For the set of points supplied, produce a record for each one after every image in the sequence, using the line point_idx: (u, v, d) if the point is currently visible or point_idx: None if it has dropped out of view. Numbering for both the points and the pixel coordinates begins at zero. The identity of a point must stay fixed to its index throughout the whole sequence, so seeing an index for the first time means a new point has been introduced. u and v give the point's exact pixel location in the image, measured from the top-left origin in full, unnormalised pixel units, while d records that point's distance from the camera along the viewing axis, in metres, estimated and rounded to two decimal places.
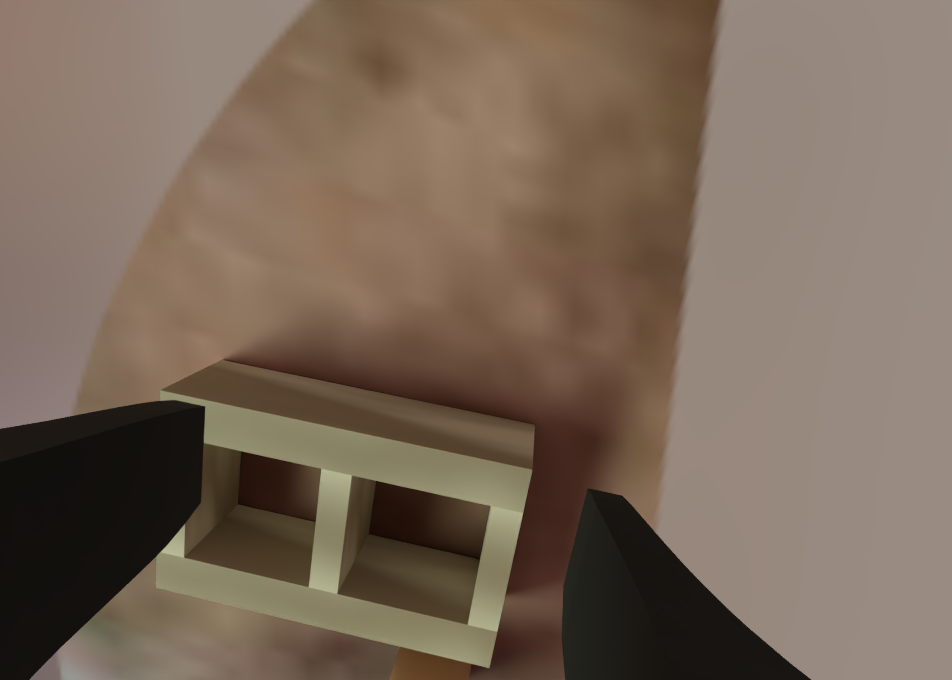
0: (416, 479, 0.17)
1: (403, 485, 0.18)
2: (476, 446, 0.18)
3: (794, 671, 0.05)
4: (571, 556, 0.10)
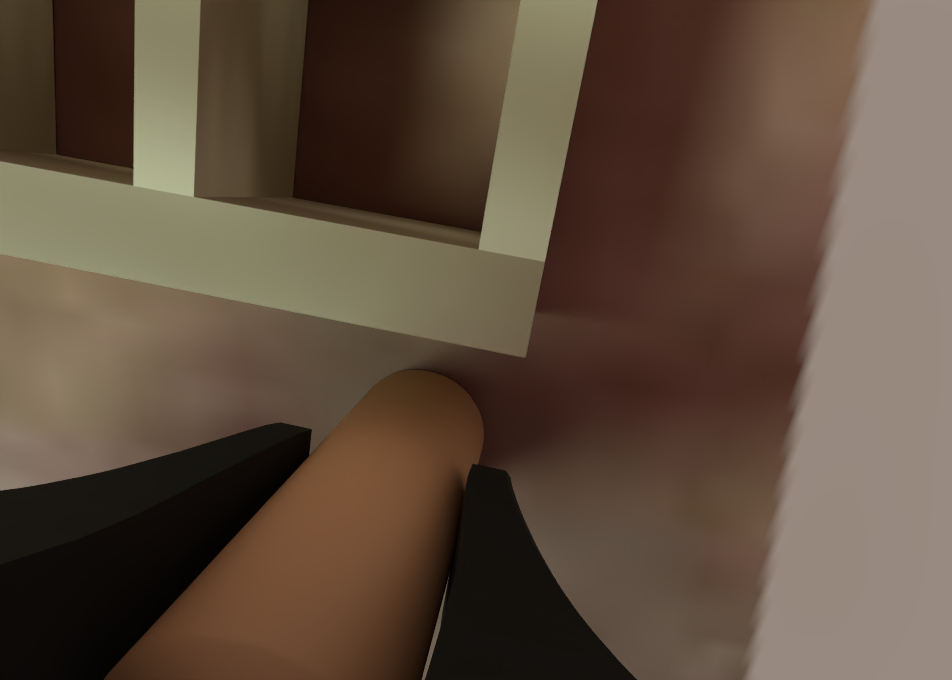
0: None
1: None
2: None
3: (577, 620, 0.05)
4: None
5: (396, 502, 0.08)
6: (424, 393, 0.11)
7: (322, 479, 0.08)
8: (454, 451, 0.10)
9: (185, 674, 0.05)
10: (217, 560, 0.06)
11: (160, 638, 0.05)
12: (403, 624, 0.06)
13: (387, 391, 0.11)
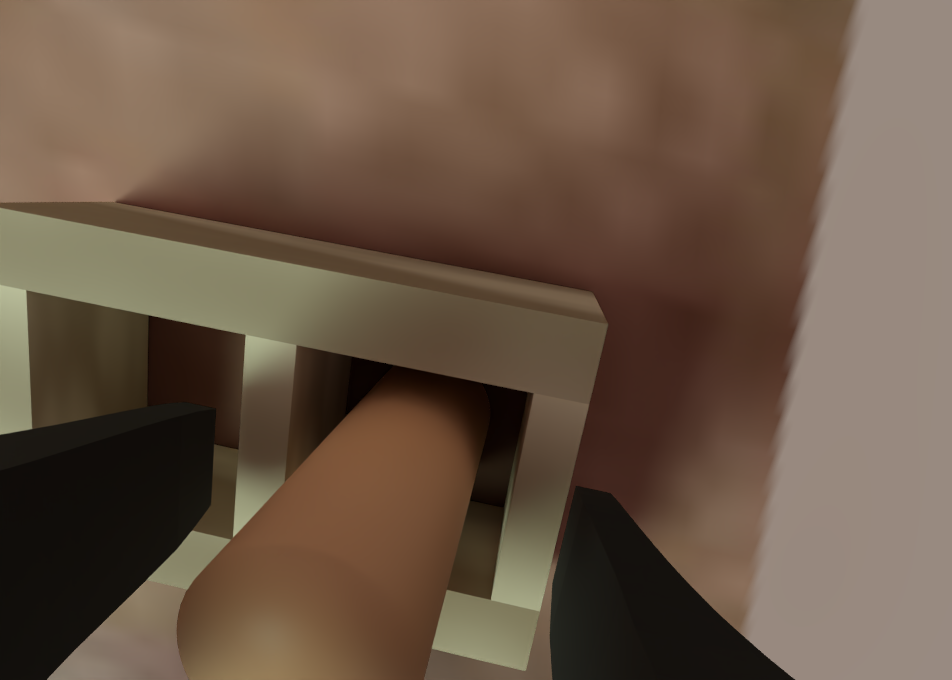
0: (405, 348, 0.10)
1: (383, 360, 0.10)
2: (507, 297, 0.11)
3: (771, 666, 0.05)
4: None
5: (416, 455, 0.09)
6: None
7: (352, 438, 0.09)
8: (464, 420, 0.11)
9: (256, 577, 0.06)
10: (270, 499, 0.08)
11: (235, 549, 0.06)
12: (428, 547, 0.07)
13: (402, 371, 0.13)
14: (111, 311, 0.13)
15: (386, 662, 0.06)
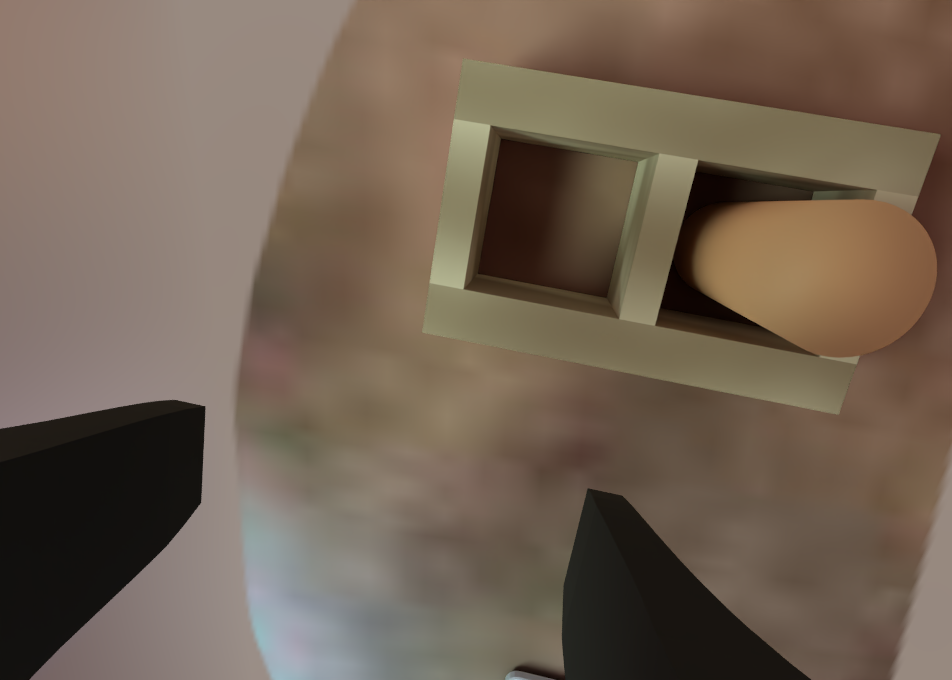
0: (783, 159, 0.14)
1: (764, 169, 0.14)
2: None
3: (794, 671, 0.05)
4: (571, 556, 0.10)
5: None
6: None
7: (782, 202, 0.13)
8: None
9: (836, 224, 0.10)
10: (779, 214, 0.12)
11: (818, 210, 0.10)
12: None
13: (726, 203, 0.17)
14: (492, 163, 0.17)
15: (912, 278, 0.10)
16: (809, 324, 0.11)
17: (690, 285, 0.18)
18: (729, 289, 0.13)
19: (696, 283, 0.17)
